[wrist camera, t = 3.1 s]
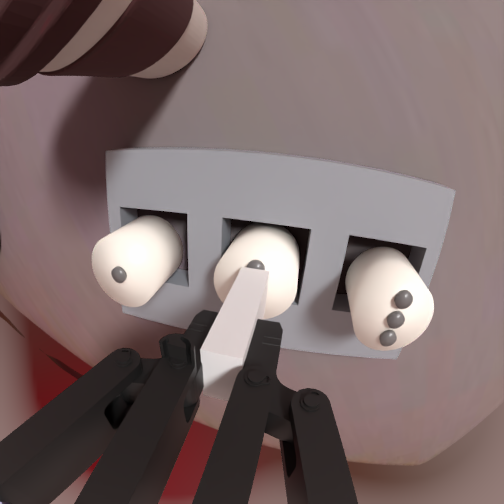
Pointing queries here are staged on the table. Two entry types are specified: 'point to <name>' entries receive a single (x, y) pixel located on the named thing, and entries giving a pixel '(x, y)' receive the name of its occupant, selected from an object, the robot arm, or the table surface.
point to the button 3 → (387, 299)
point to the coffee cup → (98, 38)
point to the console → (282, 213)
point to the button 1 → (137, 259)
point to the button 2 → (262, 264)
